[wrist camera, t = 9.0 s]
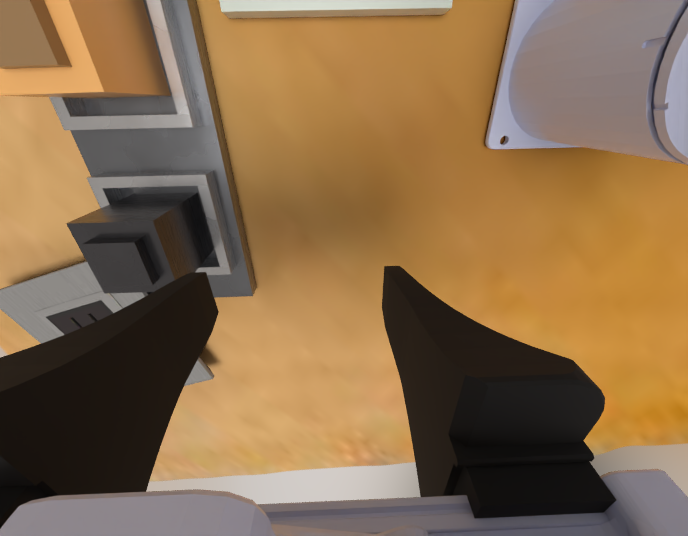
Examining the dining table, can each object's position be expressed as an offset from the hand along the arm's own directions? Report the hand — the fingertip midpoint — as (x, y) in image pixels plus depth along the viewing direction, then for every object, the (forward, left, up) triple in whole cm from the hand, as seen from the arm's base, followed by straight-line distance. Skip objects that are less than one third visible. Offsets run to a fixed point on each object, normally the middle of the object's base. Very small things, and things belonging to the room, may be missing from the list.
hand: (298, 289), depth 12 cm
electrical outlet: (+17, +9, -10) cm, 22 cm away
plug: (+9, -9, -8) cm, 15 cm away
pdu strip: (+9, -5, -9) cm, 14 cm away
